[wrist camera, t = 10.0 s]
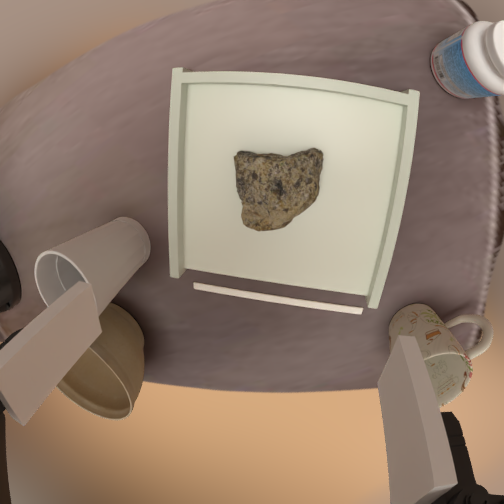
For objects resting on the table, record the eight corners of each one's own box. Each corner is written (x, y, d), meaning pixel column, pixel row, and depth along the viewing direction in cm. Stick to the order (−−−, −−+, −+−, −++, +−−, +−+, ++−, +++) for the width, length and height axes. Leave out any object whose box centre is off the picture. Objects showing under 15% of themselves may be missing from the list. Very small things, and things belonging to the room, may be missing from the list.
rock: (324, 224, 28) (325, 241, 24) (241, 224, 30) (229, 241, 26) (323, 147, 26) (325, 151, 22) (235, 149, 27) (221, 154, 23)
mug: (370, 311, 32) (383, 374, 23) (468, 267, 28) (509, 317, 19) (388, 360, 34) (400, 422, 25) (476, 322, 30) (507, 375, 21)
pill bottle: (475, 108, 22) (543, 110, 12) (424, 83, 22) (480, 66, 12) (483, 57, 19) (548, 41, 9) (433, 31, 20) (485, -5, 9)
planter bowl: (66, 267, 39) (15, 306, 29) (164, 296, 37) (119, 352, 27) (84, 350, 45) (49, 392, 35) (168, 382, 43) (139, 435, 33)
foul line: (194, 287, 35) (193, 288, 35) (194, 281, 35) (193, 282, 35) (361, 313, 33) (361, 314, 32) (362, 307, 32) (363, 308, 32)
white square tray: (179, 266, 34) (170, 276, 32) (183, 71, 26) (172, 68, 24) (373, 295, 31) (376, 308, 29) (411, 94, 23) (419, 91, 21)
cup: (91, 238, 35) (26, 281, 25) (123, 195, 32) (49, 232, 22) (133, 284, 37) (77, 341, 26) (169, 247, 34) (111, 304, 23)
